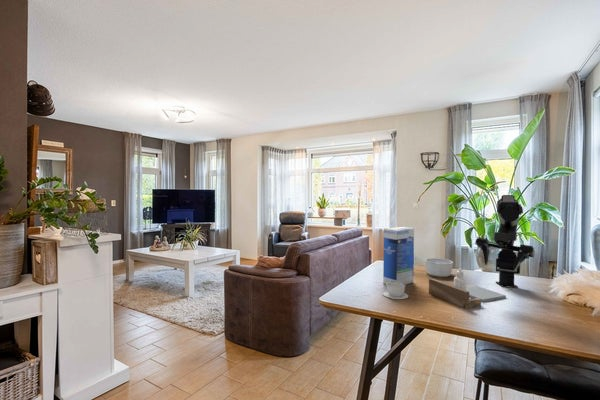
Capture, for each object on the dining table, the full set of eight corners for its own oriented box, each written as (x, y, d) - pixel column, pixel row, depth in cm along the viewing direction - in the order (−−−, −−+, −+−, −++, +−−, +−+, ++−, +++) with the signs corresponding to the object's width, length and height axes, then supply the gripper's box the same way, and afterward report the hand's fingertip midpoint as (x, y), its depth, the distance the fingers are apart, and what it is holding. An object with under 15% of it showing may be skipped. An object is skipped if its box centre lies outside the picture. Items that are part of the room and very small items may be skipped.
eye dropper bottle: (453, 299, 117) (453, 269, 117) (453, 294, 122) (453, 266, 122) (465, 301, 115) (466, 270, 115) (465, 296, 120) (466, 267, 120)
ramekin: (436, 278, 146) (437, 264, 146) (419, 271, 158) (419, 258, 158) (458, 276, 149) (459, 262, 149) (440, 270, 162) (440, 257, 162)
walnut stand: (442, 290, 127) (442, 276, 127) (480, 305, 110) (481, 289, 110) (428, 292, 125) (428, 278, 125) (466, 308, 108) (466, 292, 108)
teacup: (410, 301, 116) (410, 289, 116) (383, 299, 118) (383, 287, 118) (406, 292, 126) (406, 281, 125) (382, 291, 128) (382, 280, 128)
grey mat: (476, 288, 131) (476, 285, 131) (505, 297, 119) (506, 295, 119) (454, 291, 126) (454, 289, 126) (482, 302, 114) (482, 299, 114)
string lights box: (401, 278, 145) (401, 226, 144) (414, 282, 139) (415, 228, 138) (382, 283, 138) (382, 228, 137) (395, 287, 131) (396, 230, 131)
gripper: (476, 219, 119) (467, 255, 115) (534, 226, 106) (526, 267, 102) (482, 229, 127) (474, 264, 123) (537, 237, 113) (530, 276, 109)
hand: (499, 267), depth 114 cm, fingers open, 9 cm apart
